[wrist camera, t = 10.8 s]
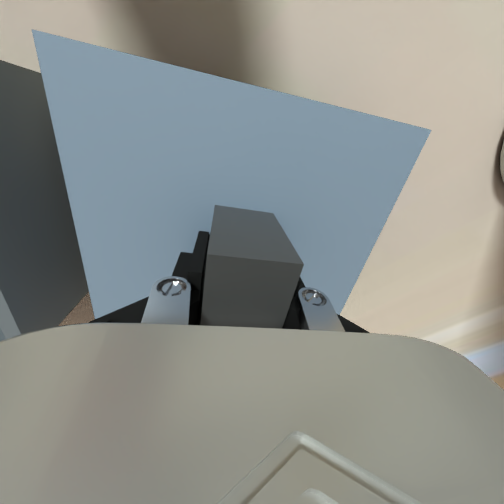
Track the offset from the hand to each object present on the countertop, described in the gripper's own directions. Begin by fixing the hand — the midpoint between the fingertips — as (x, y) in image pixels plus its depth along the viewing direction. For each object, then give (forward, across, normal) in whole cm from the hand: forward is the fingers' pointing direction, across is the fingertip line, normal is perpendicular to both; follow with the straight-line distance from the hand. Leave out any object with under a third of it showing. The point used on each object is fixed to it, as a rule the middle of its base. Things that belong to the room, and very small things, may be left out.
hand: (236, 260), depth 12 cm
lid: (+3, 0, 0) cm, 3 cm away
